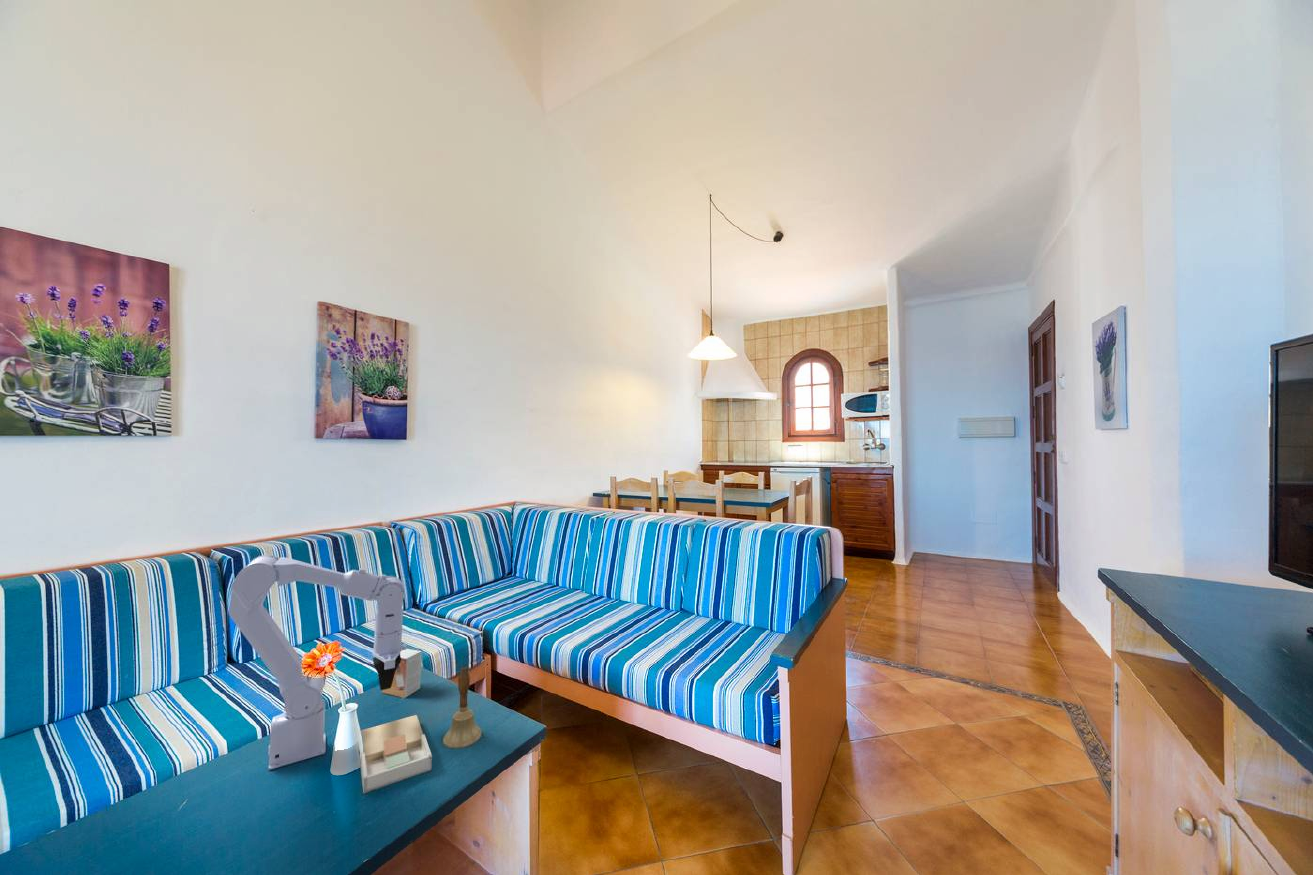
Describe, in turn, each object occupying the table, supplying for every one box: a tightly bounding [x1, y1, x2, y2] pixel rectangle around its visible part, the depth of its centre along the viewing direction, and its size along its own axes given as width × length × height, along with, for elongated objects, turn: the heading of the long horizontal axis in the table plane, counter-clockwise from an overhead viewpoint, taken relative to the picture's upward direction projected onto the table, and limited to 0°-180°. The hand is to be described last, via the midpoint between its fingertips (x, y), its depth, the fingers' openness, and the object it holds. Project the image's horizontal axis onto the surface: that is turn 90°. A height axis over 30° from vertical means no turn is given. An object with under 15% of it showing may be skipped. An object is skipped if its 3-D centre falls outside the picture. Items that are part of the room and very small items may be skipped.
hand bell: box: [442, 666, 483, 749], centre depth 106 cm, size 8×8×16 cm
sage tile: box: [385, 750, 410, 770], centre depth 94 cm, size 4×4×2 cm
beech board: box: [360, 714, 424, 763], centre depth 103 cm, size 12×11×2 cm
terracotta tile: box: [383, 734, 407, 765], centre depth 97 cm, size 4×4×2 cm
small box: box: [381, 648, 423, 699], centre depth 126 cm, size 8×6×10 cm
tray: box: [360, 733, 433, 794], centre depth 95 cm, size 12×9×3 cm
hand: (385, 688), depth 108 cm, fingers closed
